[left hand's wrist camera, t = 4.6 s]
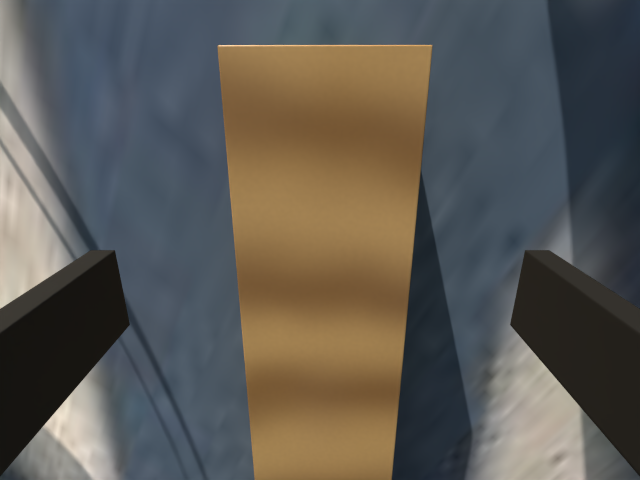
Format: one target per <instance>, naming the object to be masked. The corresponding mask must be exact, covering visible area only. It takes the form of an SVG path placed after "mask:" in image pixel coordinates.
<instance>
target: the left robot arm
mask: <svg viewBox="0 0 640 480" xmlns="http://www.w3.org/2000/svg"><path fill="white" fill-rule="evenodd" d="M129 325H130V323H129V318H128V314H127V309H126V304H125V299H124V294H123V289H122V284H121V279H120V274H119V269H118V264H117V259H116V254H115V250H91V251H89V252H88V253H86V254H85V255H83V256H81V257H80V258H78V259H77V260H75V261H74V262H72V263H71V264H69V265H68V266H66V267H64V268H63V269H61V270H60V271H58V272H57V273H55V274H54V275H52V276H51V277H49V278H47V279H46V280H44V281H43V282H41V283H40V284H38V285H37V286H35V287H34V288H32V289H30V290H29V291H27V292H26V293H24V294H23V295H21V296H20V297H18V298H17V299H15V300H13V301H12V302H10V303H9V304H7V305H6V306H4V307H3V308H1V309H0V476H1V475H2V474H3V472H4V471H5V470H6V469H7V468H8V467H9V465H10V464H11V463H12V462H13V461H14V459H15V458H16V457H17V456H18V455H19V454H20V452H21V451H22V450H23V449H24V448H25V447H26V445H27V444H28V443H29V442H30V441H31V440H32V438H33V437H34V436H35V435H36V434H37V433H38V431H39V430H40V429H41V428H42V427H43V426H44V424H45V423H46V422H47V421H48V420H49V419H50V417H51V416H52V415H53V414H54V413H55V412H56V410H57V409H58V408H59V407H60V406H61V405H62V403H63V402H64V401H65V400H66V399H67V398H68V396H69V395H70V394H71V393H72V392H73V390H74V389H75V388H76V387H77V386H78V385H79V383H80V382H81V381H82V380H83V379H84V378H85V376H86V375H87V374H88V373H89V372H90V371H91V369H92V368H93V367H94V366H95V365H96V364H97V362H98V361H99V360H100V359H101V358H102V357H103V355H104V354H105V353H106V352H107V351H108V350H109V348H110V347H111V346H112V345H113V344H114V343H115V341H116V340H117V339H118V338H119V337H120V336H121V334H122V333H123V332H124V331H125V330H126V329H127V327H128V326H129ZM510 325H511V326H512V327H513V329H514V330H515V331H516V332H517V333H518V334H519V336H520V337H521V338H522V339H523V340H524V341H525V343H526V344H527V345H528V346H529V347H530V348H531V350H532V351H533V352H534V353H535V354H536V355H537V357H538V358H539V359H540V360H541V361H542V362H543V364H544V365H545V366H546V367H547V368H548V369H549V371H550V372H551V373H552V374H553V375H554V376H555V378H556V379H557V380H558V381H559V382H560V383H561V385H562V386H563V387H564V388H565V389H566V390H567V392H568V393H569V394H570V395H571V396H572V398H573V399H574V400H575V401H576V402H577V403H578V405H579V406H580V407H581V408H582V409H583V410H584V412H585V413H586V414H587V415H588V416H589V417H590V419H591V420H592V421H593V422H594V423H595V424H596V426H597V427H598V428H599V429H600V430H601V431H602V433H603V434H604V435H605V436H606V437H607V438H608V440H609V441H610V442H611V443H612V444H613V445H614V447H615V448H616V449H617V450H618V451H619V452H620V454H621V455H622V456H623V457H624V458H625V459H626V461H627V462H628V463H629V464H630V465H631V467H632V468H633V469H634V470H635V471H636V472H637V474H638V475H639V476H640V309H639V308H637V307H636V306H634V305H633V304H631V303H630V302H628V301H627V300H625V299H623V298H622V297H620V296H619V295H617V294H616V293H614V292H613V291H611V290H610V289H608V288H606V287H605V286H603V285H602V284H600V283H599V282H597V281H596V280H594V279H593V278H591V277H589V276H588V275H586V274H585V273H583V272H582V271H580V270H579V269H577V268H576V267H574V266H572V265H571V264H569V263H568V262H566V261H565V260H563V259H562V258H560V257H559V256H557V255H555V254H554V253H552V252H551V251H549V250H525V254H524V259H523V264H522V269H521V274H520V279H519V284H518V289H517V294H516V299H515V304H514V309H513V313H512V318H511V323H510Z"/></svg>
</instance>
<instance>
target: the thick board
mask: <svg viewBox="0 0 640 480" xmlns="http://www.w3.org/2000/svg"><path fill="white" fill-rule="evenodd" d="M431 56H432V45H219V46H218V57H219V68H220V80H221V91H222V103H223V115H224V126H225V138H226V149H227V161H228V173H229V184H230V196H231V208H232V219H233V231H234V242H235V254H236V266H237V277H238V289H239V300H240V312H241V324H242V335H243V347H244V359H245V370H246V382H247V393H248V405H249V417H250V428H251V440H252V451H253V463H254V475H255V480H392V470H393V459H394V449H395V438H396V428H397V417H398V406H399V396H400V385H401V375H402V364H403V353H404V343H405V332H406V321H407V311H408V300H409V290H410V279H411V268H412V258H413V247H414V237H415V226H416V215H417V205H418V194H419V183H420V173H421V162H422V152H423V141H424V130H425V120H426V109H427V98H428V88H429V77H430V67H431Z"/></svg>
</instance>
